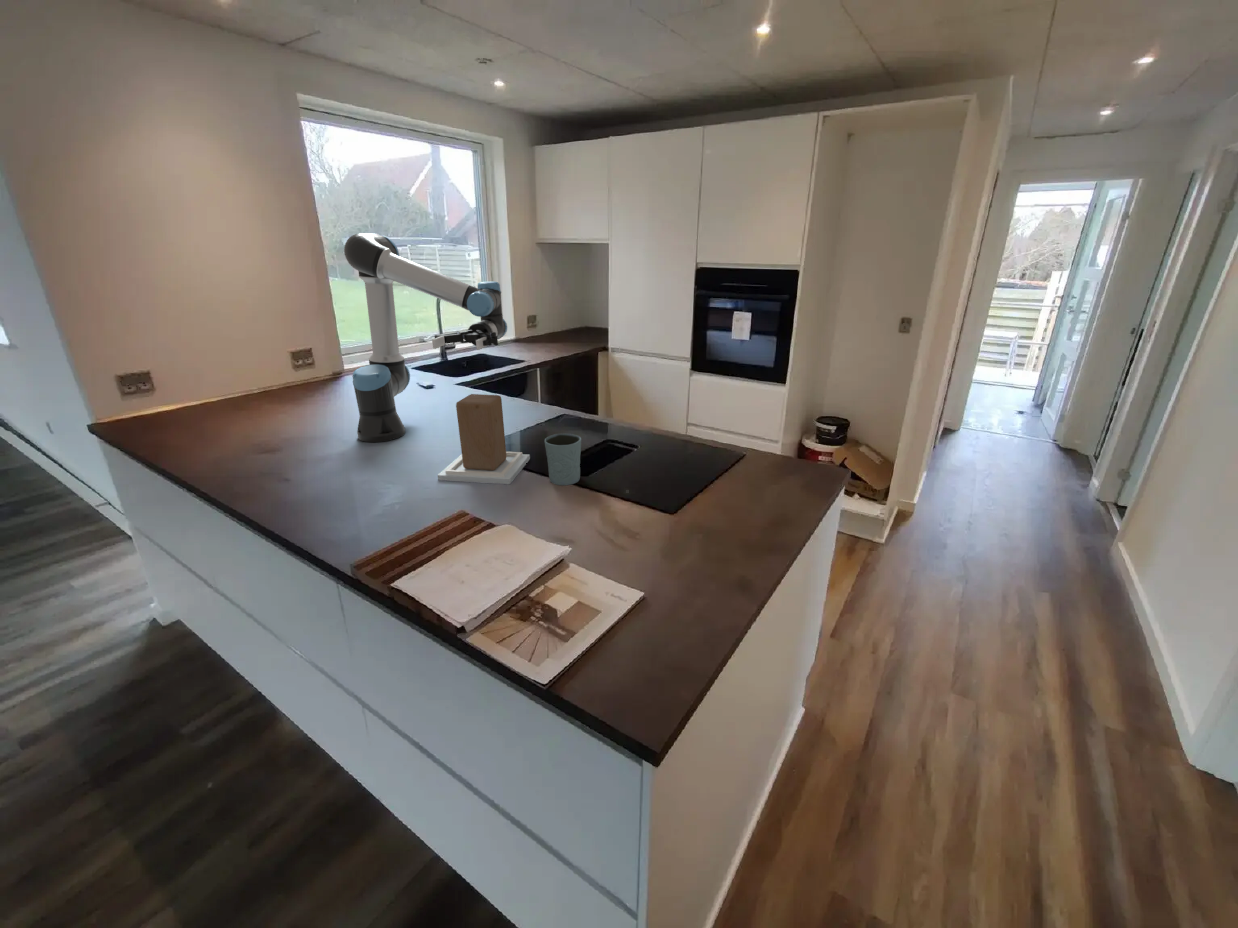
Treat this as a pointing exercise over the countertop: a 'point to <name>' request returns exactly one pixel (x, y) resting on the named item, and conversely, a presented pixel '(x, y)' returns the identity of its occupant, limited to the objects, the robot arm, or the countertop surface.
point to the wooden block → (481, 431)
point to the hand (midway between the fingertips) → (455, 344)
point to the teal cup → (563, 458)
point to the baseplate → (498, 476)
